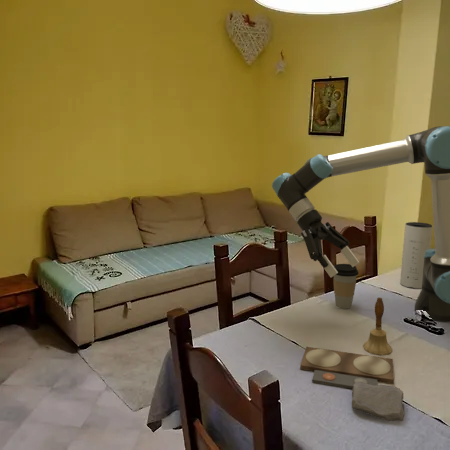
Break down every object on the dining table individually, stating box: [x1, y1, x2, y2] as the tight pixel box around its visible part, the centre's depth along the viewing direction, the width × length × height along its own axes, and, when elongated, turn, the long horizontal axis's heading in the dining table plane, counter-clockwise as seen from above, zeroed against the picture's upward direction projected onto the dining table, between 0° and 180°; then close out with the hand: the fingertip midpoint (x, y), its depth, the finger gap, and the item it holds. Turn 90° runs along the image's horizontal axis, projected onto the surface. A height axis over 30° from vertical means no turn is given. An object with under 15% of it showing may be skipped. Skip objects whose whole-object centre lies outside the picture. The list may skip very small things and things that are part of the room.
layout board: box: [299, 346, 395, 385], centre depth 124 cm, size 24×11×2 cm, turn 71°
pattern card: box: [311, 370, 378, 390], centre depth 116 cm, size 16×5×1 cm, turn 71°
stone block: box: [351, 381, 405, 422], centre depth 106 cm, size 12×5×10 cm
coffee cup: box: [332, 263, 359, 310], centre depth 164 cm, size 9×9×15 cm
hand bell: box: [362, 297, 393, 356], centre depth 132 cm, size 8×8×16 cm
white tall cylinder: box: [399, 221, 434, 290], centre depth 183 cm, size 11×10×26 cm
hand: (345, 270), depth 138 cm, fingers open, 13 cm apart
